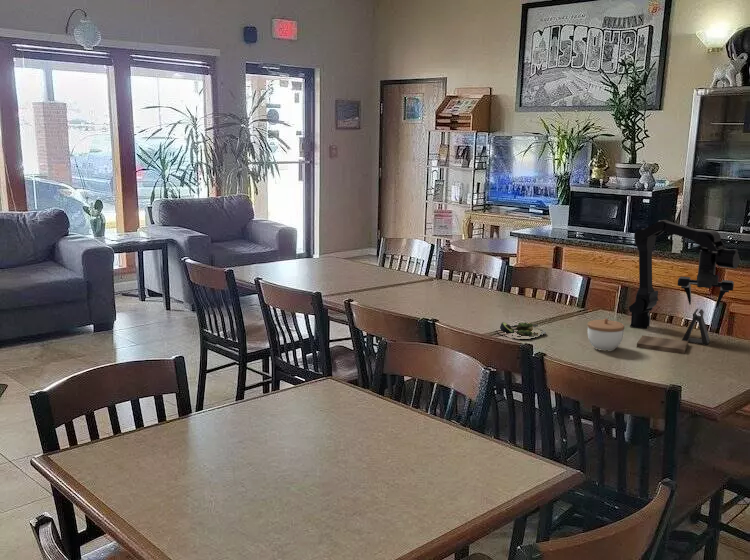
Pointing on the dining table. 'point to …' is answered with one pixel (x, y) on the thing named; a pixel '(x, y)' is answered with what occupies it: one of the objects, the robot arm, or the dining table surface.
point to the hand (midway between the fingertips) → (703, 305)
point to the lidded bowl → (605, 334)
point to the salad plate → (520, 329)
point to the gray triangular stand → (703, 330)
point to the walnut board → (662, 344)
